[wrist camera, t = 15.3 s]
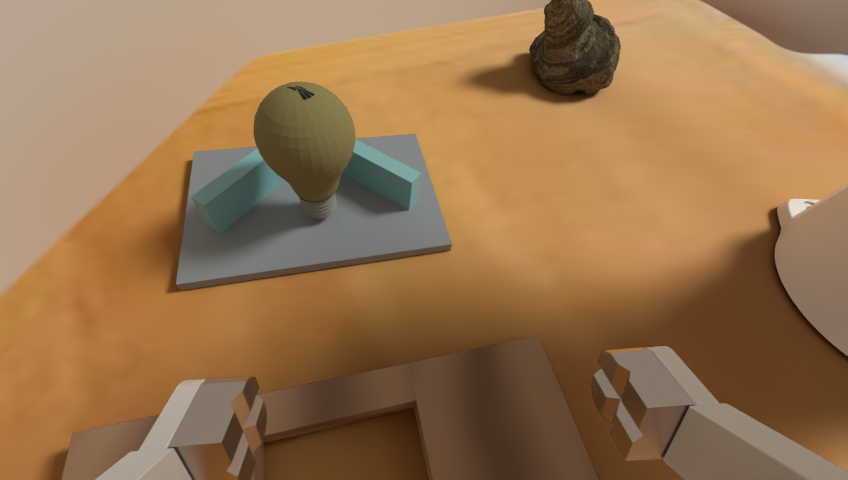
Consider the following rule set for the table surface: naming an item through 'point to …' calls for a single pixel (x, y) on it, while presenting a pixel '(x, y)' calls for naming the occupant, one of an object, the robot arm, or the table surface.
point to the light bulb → (306, 142)
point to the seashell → (575, 48)
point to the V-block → (295, 231)
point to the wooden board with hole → (434, 411)
